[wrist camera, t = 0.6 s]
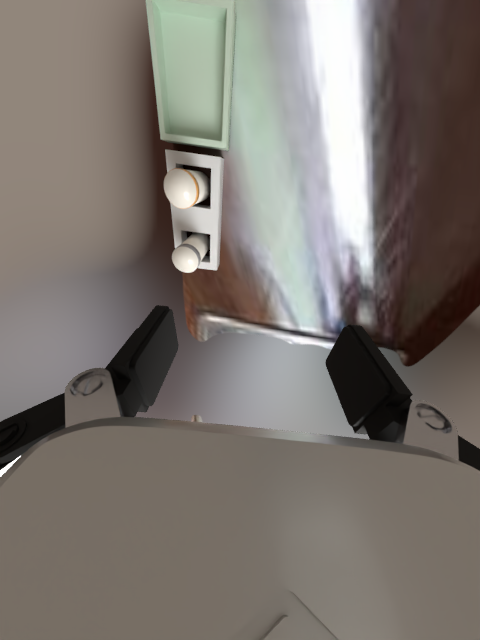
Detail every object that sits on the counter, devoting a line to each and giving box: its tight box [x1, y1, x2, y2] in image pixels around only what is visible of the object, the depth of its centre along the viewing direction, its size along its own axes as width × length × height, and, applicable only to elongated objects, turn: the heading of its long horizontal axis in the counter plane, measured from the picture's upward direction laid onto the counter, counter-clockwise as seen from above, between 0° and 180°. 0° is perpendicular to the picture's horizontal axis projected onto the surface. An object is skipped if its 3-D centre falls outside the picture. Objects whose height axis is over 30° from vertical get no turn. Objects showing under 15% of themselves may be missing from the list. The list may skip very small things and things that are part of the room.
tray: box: [146, 0, 236, 151], centre depth 21 cm, size 10×8×2 cm
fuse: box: [172, 232, 210, 273], centre depth 29 cm, size 4×4×9 cm
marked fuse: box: [164, 168, 211, 209], centre depth 24 cm, size 4×4×9 cm
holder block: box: [165, 149, 224, 270], centre depth 29 cm, size 15×7×3 cm, turn 174°
